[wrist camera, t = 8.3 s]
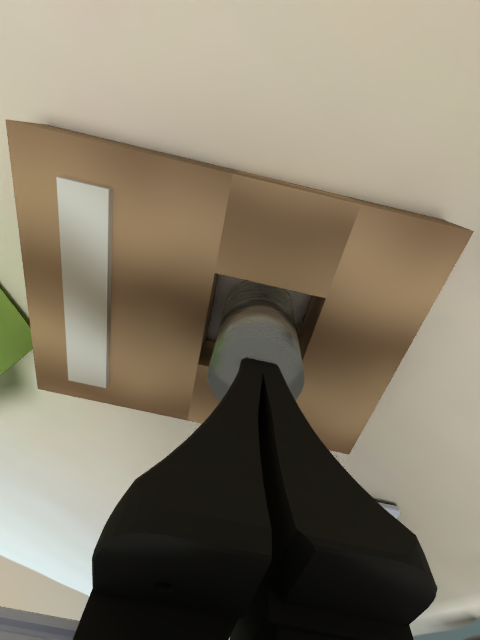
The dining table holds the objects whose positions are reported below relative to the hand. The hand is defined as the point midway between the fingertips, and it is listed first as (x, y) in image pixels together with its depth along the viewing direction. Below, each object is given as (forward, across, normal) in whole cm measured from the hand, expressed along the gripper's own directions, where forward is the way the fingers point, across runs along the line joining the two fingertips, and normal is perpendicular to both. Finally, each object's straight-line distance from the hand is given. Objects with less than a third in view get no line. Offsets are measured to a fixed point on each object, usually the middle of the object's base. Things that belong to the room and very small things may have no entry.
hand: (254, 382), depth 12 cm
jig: (+6, +2, 0) cm, 6 cm away
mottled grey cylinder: (+6, 0, 0) cm, 6 cm away
